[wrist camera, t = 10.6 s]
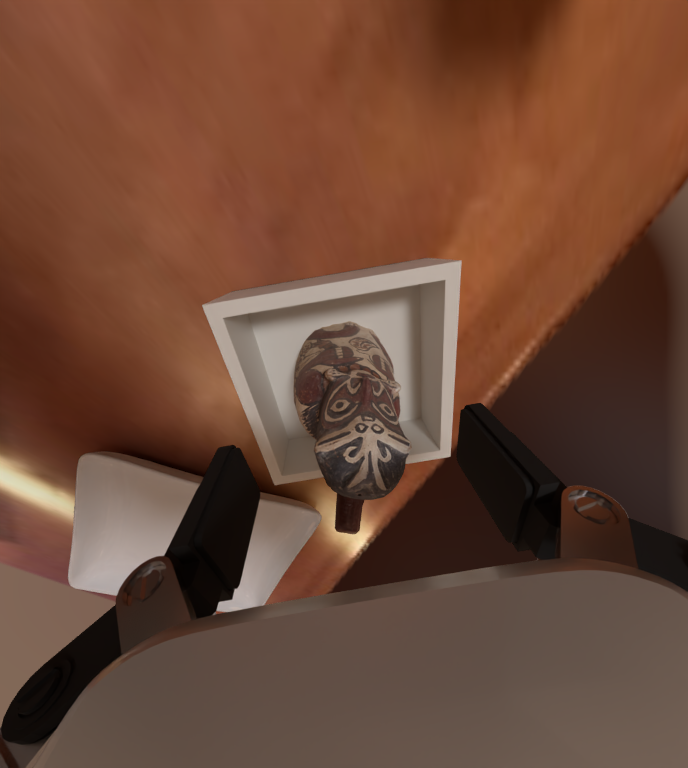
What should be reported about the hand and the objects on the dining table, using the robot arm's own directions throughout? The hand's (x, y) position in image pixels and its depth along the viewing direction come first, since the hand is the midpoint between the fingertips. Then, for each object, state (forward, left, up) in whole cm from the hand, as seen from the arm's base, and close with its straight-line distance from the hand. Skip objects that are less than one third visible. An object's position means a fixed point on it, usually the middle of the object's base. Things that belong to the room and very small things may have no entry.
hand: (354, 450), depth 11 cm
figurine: (+1, 0, -10) cm, 10 cm away
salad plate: (+18, -19, -12) cm, 28 cm away
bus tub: (+1, 0, -11) cm, 11 cm away
